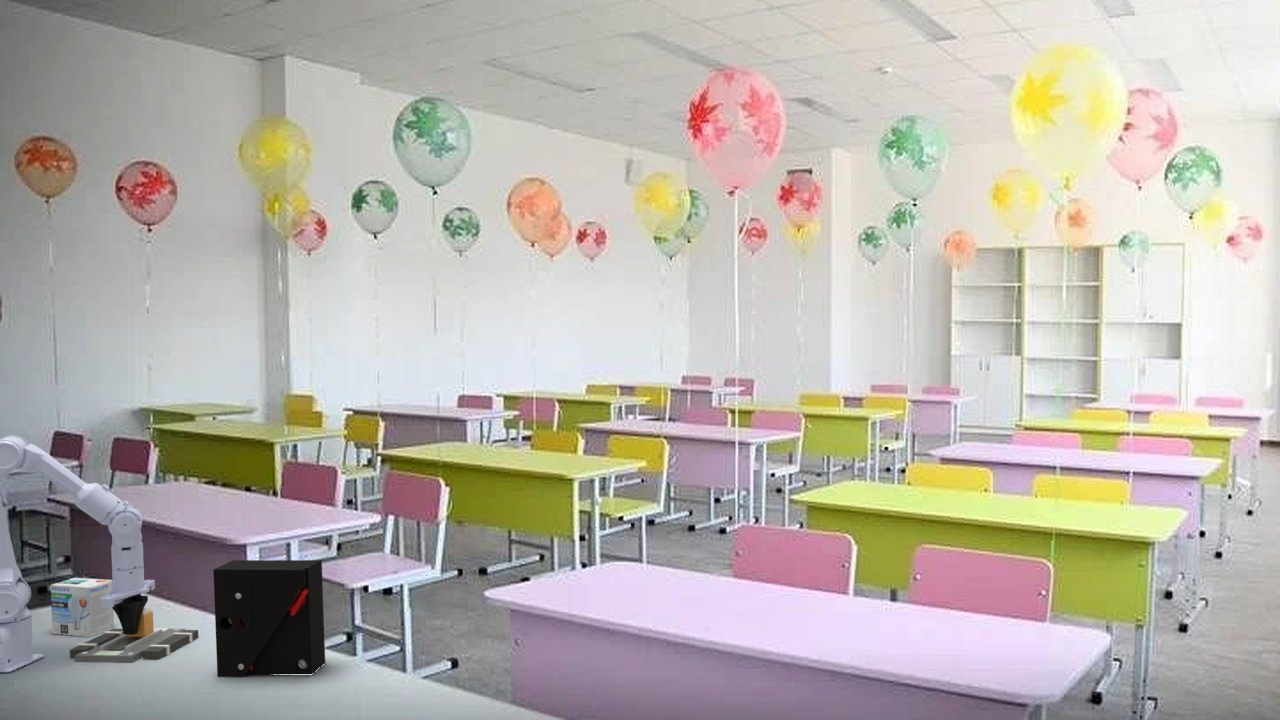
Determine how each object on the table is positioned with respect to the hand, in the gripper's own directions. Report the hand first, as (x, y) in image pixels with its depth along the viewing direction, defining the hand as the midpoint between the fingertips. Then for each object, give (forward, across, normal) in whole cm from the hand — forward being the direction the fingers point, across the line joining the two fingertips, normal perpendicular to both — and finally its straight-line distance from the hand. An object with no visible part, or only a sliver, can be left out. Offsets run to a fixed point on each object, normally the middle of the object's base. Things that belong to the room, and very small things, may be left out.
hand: (130, 633), depth 208 cm
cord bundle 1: (+3, 0, +7) cm, 8 cm away
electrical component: (+3, -10, -36) cm, 38 cm away
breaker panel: (+3, 0, 0) cm, 3 cm away
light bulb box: (+3, +10, +18) cm, 21 cm away
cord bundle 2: (+3, 0, -8) cm, 9 cm away
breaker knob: (+1, +3, 0) cm, 3 cm away
